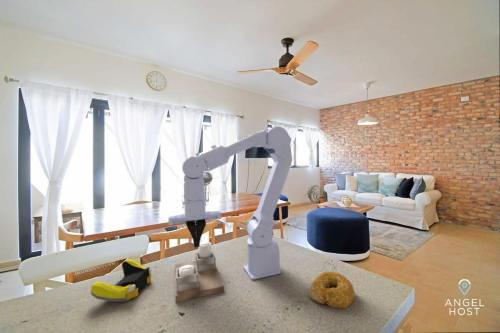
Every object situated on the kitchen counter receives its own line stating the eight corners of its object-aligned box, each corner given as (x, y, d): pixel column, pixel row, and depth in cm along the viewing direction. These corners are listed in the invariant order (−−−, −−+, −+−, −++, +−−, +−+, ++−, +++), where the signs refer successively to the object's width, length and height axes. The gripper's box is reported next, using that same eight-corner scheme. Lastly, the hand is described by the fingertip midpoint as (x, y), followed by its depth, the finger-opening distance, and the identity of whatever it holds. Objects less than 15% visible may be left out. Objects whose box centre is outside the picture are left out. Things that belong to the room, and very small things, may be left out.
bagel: (301, 288, 58) (302, 270, 58) (338, 283, 61) (339, 266, 60) (321, 314, 49) (321, 294, 48) (364, 307, 51) (364, 287, 51)
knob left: (194, 277, 61) (193, 263, 61) (195, 285, 57) (195, 270, 57) (179, 280, 60) (178, 266, 60) (179, 288, 56) (179, 273, 56)
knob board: (212, 262, 73) (212, 247, 73) (223, 291, 57) (223, 272, 57) (175, 269, 69) (174, 253, 69) (175, 302, 53) (175, 282, 53)
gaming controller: (86, 308, 52) (126, 310, 51) (85, 286, 52) (125, 287, 51) (127, 274, 67) (158, 275, 66) (126, 257, 67) (157, 257, 66)
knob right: (210, 253, 71) (210, 241, 70) (212, 258, 67) (212, 245, 67) (197, 255, 69) (197, 243, 69) (199, 261, 65) (199, 247, 65)
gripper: (217, 194, 69) (218, 237, 69) (167, 199, 64) (169, 244, 64) (222, 198, 62) (223, 245, 63) (167, 203, 57) (169, 254, 58)
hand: (196, 246), depth 63 cm, fingers closed
